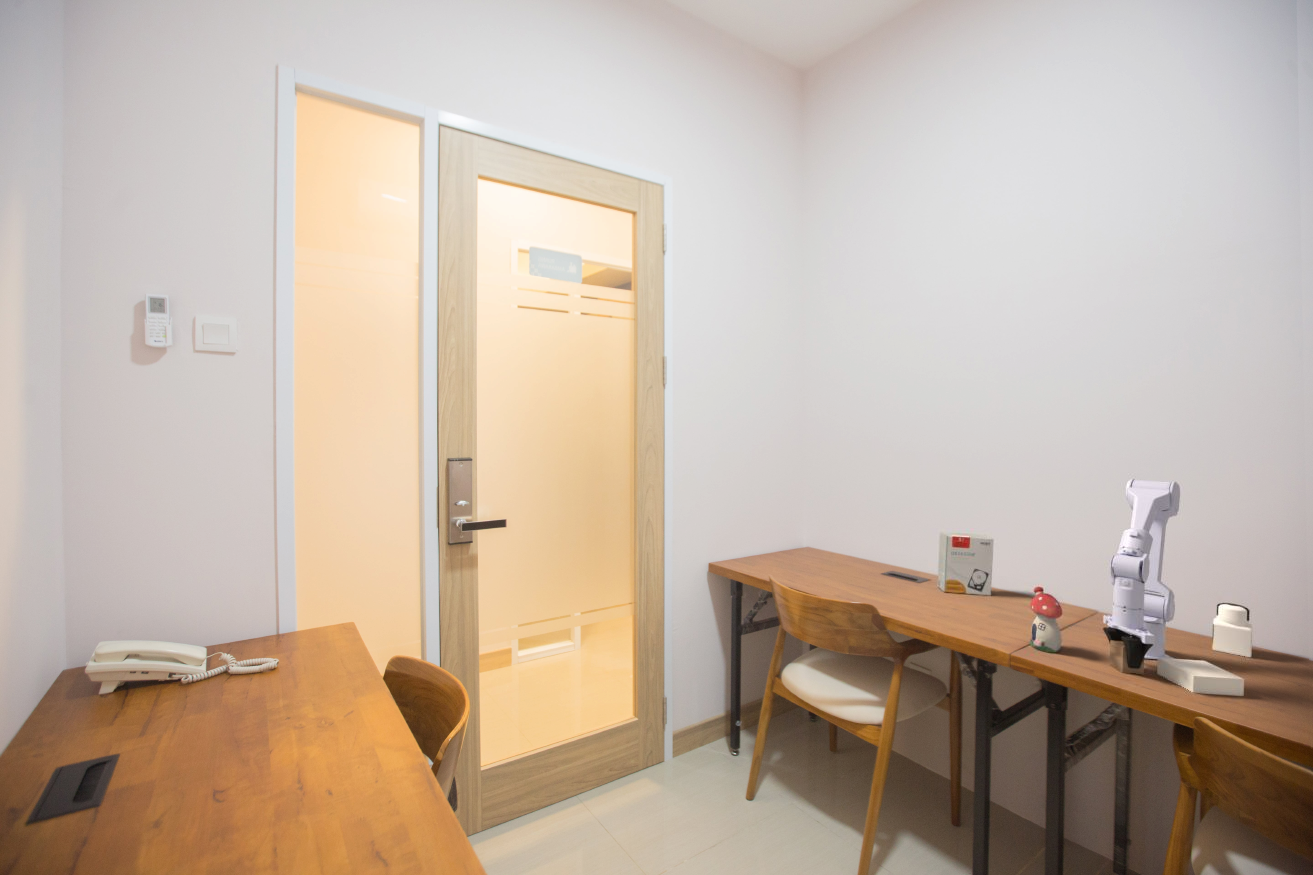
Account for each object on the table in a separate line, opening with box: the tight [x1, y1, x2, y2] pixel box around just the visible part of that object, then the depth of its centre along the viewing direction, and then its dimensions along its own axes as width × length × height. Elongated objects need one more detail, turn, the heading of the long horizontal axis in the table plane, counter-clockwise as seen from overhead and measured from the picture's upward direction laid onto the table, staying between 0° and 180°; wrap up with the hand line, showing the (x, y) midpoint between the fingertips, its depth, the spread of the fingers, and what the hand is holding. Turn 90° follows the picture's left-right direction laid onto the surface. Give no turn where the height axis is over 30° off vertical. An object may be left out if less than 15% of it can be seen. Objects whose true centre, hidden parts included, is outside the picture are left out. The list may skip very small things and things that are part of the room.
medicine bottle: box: [1211, 602, 1253, 658], centre depth 151 cm, size 7×7×12 cm
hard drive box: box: [937, 532, 994, 596], centre depth 203 cm, size 16×8×20 cm, turn 81°
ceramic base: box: [1156, 658, 1245, 697], centre depth 129 cm, size 10×10×4 cm
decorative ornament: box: [1029, 586, 1063, 653], centre depth 150 cm, size 9×6×15 cm
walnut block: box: [1109, 640, 1145, 675], centre depth 136 cm, size 4×4×6 cm
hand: (1126, 663), depth 136 cm, fingers closed on walnut block, 4 cm apart
